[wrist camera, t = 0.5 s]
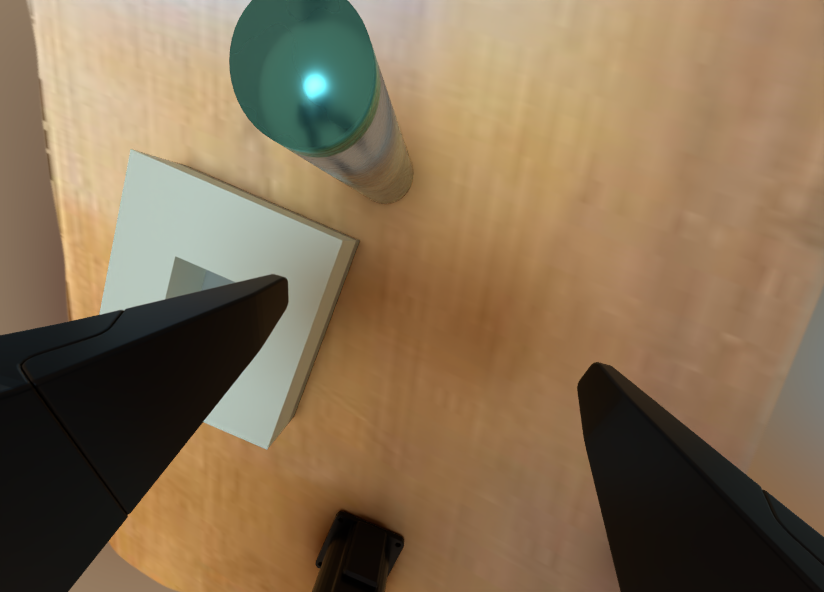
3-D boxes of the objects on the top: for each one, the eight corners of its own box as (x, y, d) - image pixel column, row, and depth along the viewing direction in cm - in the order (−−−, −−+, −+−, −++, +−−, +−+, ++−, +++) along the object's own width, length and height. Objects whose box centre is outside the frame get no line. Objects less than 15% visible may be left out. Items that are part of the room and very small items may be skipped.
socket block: (293, 416, 25) (267, 449, 21) (143, 351, 25) (88, 372, 21) (359, 240, 22) (342, 240, 18) (186, 165, 22) (130, 149, 18)
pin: (400, 212, 21) (343, 170, 8) (348, 190, 21) (213, 114, 8) (421, 157, 20) (396, 15, 7) (368, 134, 20) (252, -47, 7)
